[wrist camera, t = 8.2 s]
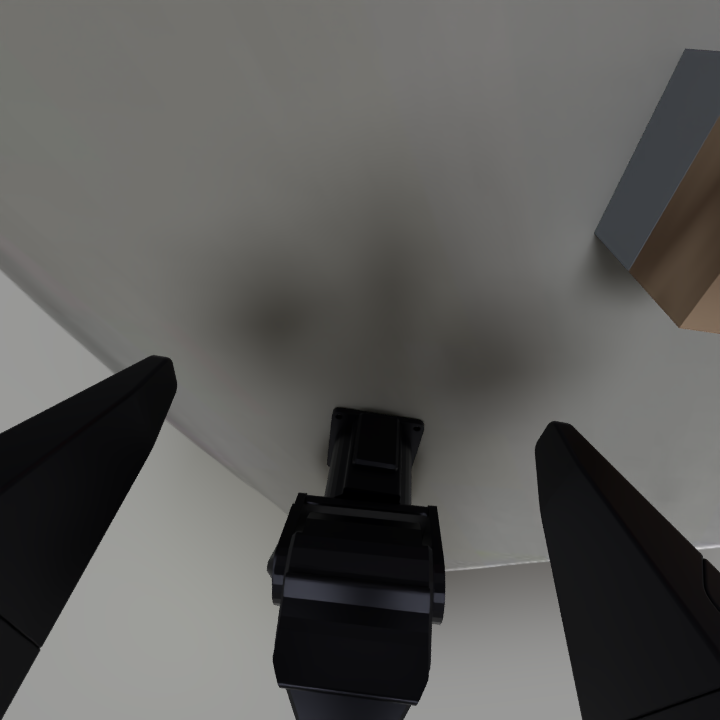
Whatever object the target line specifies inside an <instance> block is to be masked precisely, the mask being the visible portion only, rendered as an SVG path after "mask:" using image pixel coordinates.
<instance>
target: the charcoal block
mask: <svg viewBox="0 0 720 720" xmlns="http://www.w3.org/2000/svg"><path fill="white" fill-rule="evenodd" d="M719 116H720V51H709V50H695V49H685V50H684V52H683V54H682V56H681V58H680V61H679V63H678V65H677V67H676V69H675V71H674V73H673V75H672V77H671V79H670V81H669V83H668V85H667V87H666V89H665V91H664V93H663V95H662V97H661V99H660V101H659V103H658V105H657V107H656V109H655V111H654V113H653V115H652V117H651V119H650V121H649V123H648V125H647V127H646V129H645V131H644V133H643V135H642V137H641V139H640V141H639V143H638V145H637V147H636V150H635V152H634V154H633V156H632V158H631V160H630V162H629V164H628V166H627V168H626V170H625V172H624V174H623V176H622V178H621V180H620V182H619V184H618V186H617V188H616V190H615V192H614V194H613V196H612V198H611V200H610V202H609V204H608V206H607V208H606V210H605V212H604V214H603V216H602V218H601V220H600V222H599V224H598V226H597V228H596V230H595V232H594V233H595V234H596V235H597V237H598V238H599V239H600V240H601V241H602V242H603V243H604V244H605V246H606V247H607V248H608V249H609V250H610V251H611V252H612V253H613V254H614V256H615V257H616V258H617V259H618V260H619V261H620V262H621V263H622V265H623V266H624V267H625V268H626V269H627V270H628V271H629V270H630V268H631V266H632V265H633V263H634V261H635V259H636V258H637V256H638V254H639V253H640V251H641V249H642V248H643V246H644V244H645V242H646V241H647V239H648V237H649V236H650V234H651V232H652V230H653V229H654V227H655V225H656V224H657V222H658V220H659V218H660V217H661V215H662V213H663V212H664V210H665V208H666V206H667V205H668V203H669V201H670V200H671V198H672V196H673V194H674V193H675V191H676V189H677V188H678V186H679V184H680V182H681V181H682V179H683V177H684V176H685V174H686V172H687V171H688V169H689V167H690V165H691V164H692V162H693V160H694V159H695V157H696V155H697V153H698V152H699V150H700V148H701V147H702V145H703V143H704V141H705V140H706V138H707V136H708V135H709V133H710V131H711V129H712V128H713V126H714V124H715V123H716V121H717V119H718V117H719Z"/></svg>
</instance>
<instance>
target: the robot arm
mask: <svg viewBox="0 0 720 720" xmlns="http://www.w3.org/2000/svg"><path fill="white" fill-rule="evenodd" d="M176 390H177V380H176V376H175V371H174V367H173V362H172V360H171V359H170V358H168V357H163V356H156V355H152V356H149V357H147V358H145V359H143V360H141V361H139V362H138V363H136V364H134V365H132V366H130V367H128V368H126V369H124V370H122V371H120V372H118V373H116V374H114V375H112V376H110V377H109V378H107V379H105V380H103V381H101V382H99V383H97V384H95V385H93V386H91V387H89V388H87V389H85V390H84V391H82V392H80V393H78V394H76V395H74V396H72V397H70V398H68V399H66V400H65V401H62V402H60V403H58V404H56V405H55V406H53V407H51V408H49V409H47V410H45V411H43V412H41V413H39V414H37V415H35V416H34V417H31V418H29V419H27V420H26V421H24V422H22V423H20V424H18V425H16V426H14V427H12V428H10V429H8V430H6V431H4V432H2V433H0V720H2V718H3V716H4V714H5V712H6V711H7V709H8V707H9V705H10V704H11V702H12V700H13V698H14V696H15V694H16V693H17V691H18V689H19V687H20V686H21V684H22V682H23V680H24V678H25V677H26V675H27V673H28V671H29V670H30V668H31V666H32V664H33V662H34V661H35V659H36V657H37V655H38V653H39V652H40V648H41V647H42V646H43V644H44V642H45V640H46V638H47V637H48V635H49V633H50V631H51V630H52V628H53V626H54V624H55V622H56V621H57V619H58V617H59V615H60V614H61V612H62V610H63V608H64V606H65V605H66V603H67V601H68V599H69V597H70V595H71V594H72V592H73V590H74V588H75V587H76V585H77V583H78V581H79V579H80V578H81V576H82V574H83V572H84V571H85V569H86V567H87V565H88V563H89V561H90V559H91V558H92V556H93V554H94V553H95V551H96V549H97V547H98V545H99V544H100V542H101V540H102V538H103V536H104V535H105V533H106V531H107V529H108V527H109V525H110V524H111V522H112V520H113V519H114V517H115V515H116V513H117V511H118V510H119V508H120V506H121V504H122V502H123V501H124V499H125V497H126V495H127V493H128V492H129V490H130V488H131V486H132V484H133V483H134V481H135V479H136V477H137V476H138V474H139V472H140V470H141V469H142V467H143V465H144V463H145V461H146V459H147V458H148V456H149V454H150V452H151V450H152V448H153V446H154V444H155V442H156V439H157V437H158V434H159V432H160V430H161V427H162V425H163V422H164V420H165V418H166V415H167V413H168V410H169V408H170V406H171V403H172V401H173V398H174V396H175V394H176ZM338 414H340V415H338ZM417 426H418V427H417ZM423 432H424V423H423V422H422V421H420V420H416V419H409V418H403V417H396V416H390V415H383V414H377V413H370V412H364V411H357V410H351V409H344V408H336V409H334V410H333V413H332V421H331V430H330V440H329V449H328V459H327V465H328V466H329V467H330V469H329V475H328V480H327V485H326V491H325V496H324V497H323V496H313V495H307V493H298V496H297V498H296V501H295V504H294V503H293V504H292V507H291V509H290V512H289V515H288V518H287V521H286V523H285V526H284V529H283V532H282V534H281V537H280V539H279V542H278V544H277V546H276V548H275V550H274V552H273V554H272V555H271V557H270V559H269V561H268V565H267V571H268V573H269V575H270V577H271V578H272V600H273V604H274V605H278V606H280V610H279V617H278V624H277V631H276V639H275V648H274V653H273V665H274V670H275V674H276V679H277V683H278V686H279V687H280V688H285V689H286V690H287V693H288V696H289V700H290V703H291V706H292V709H293V712H294V715H295V718H296V720H403V719H404V718H405V716H406V714H407V712H408V710H409V708H410V707H411V705H415V706H416V705H417V704H418V702H419V700H420V698H421V696H422V693H423V691H424V689H425V687H426V684H427V682H428V677H429V670H430V664H431V635H432V624H439V625H440V624H441V623H442V620H443V614H444V605H445V565H444V556H443V549H442V541H441V534H440V527H439V519H438V512H437V506H429V505H428V507H424V506H414V505H411V468H412V465H413V462H414V459H415V456H416V453H417V450H418V447H419V444H420V441H421V438H422V435H423ZM535 459H536V471H537V483H538V494H539V505H540V513H541V518H542V524H543V528H544V533H545V538H546V543H547V548H548V553H549V558H550V563H551V568H552V572H553V578H554V583H555V587H556V592H557V597H558V602H559V607H560V612H561V617H562V622H563V627H564V632H565V637H566V642H567V646H568V651H569V656H570V661H571V666H572V671H573V676H574V681H575V686H576V691H577V696H578V701H579V706H580V711H581V716H582V720H720V572H719V571H718V570H717V569H716V568H715V567H714V566H713V565H712V564H711V563H710V562H709V561H708V560H707V559H703V556H702V554H701V553H700V552H699V551H698V550H697V549H696V548H695V547H694V546H693V545H692V544H691V543H690V542H689V541H688V540H687V539H686V538H685V537H684V536H683V535H682V534H681V533H680V532H679V531H678V530H677V529H676V528H675V527H674V526H673V525H672V524H671V523H670V522H669V521H668V520H667V519H666V518H665V517H664V516H663V515H662V514H661V513H659V512H658V511H657V510H656V509H655V508H654V507H653V506H652V505H651V504H650V503H649V502H648V501H647V500H646V499H645V498H644V497H643V496H642V495H641V494H640V493H639V492H638V491H637V490H636V489H635V488H634V487H633V486H632V485H631V484H630V483H629V482H628V481H627V480H626V479H625V478H624V477H623V476H622V475H621V474H620V473H619V472H618V471H617V470H616V469H615V468H614V467H613V466H612V465H611V464H610V463H609V462H608V461H607V460H606V459H605V458H604V457H603V456H602V455H601V454H600V453H599V452H598V451H597V450H596V449H595V448H594V447H593V446H592V445H591V444H590V443H589V442H588V441H587V440H586V439H585V438H584V437H583V436H582V435H581V434H580V433H579V432H578V431H577V430H576V429H575V428H574V427H573V426H572V425H571V424H568V423H564V422H558V421H552V422H550V423H549V424H548V425H547V427H546V429H545V430H544V432H543V433H542V435H541V436H540V438H539V439H538V441H537V443H536V446H535Z"/></svg>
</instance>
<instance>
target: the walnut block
mask: <svg viewBox="0 0 720 720" xmlns="http://www.w3.org/2000/svg"><path fill="white" fill-rule="evenodd" d="M629 272H630V274H631V275H632V276H633V277H634V278H635V279H636V280H637V281H638V283H639V284H640V285H641V286H642V287H643V288H644V289H645V290H646V291H647V293H648V294H649V295H650V296H651V297H652V298H653V299H654V300H655V302H656V303H657V304H658V305H659V306H660V307H661V308H662V309H663V310H664V312H665V313H666V314H667V315H668V316H669V317H670V318H671V319H672V321H673V322H674V323H675V324H676V325H677V326H678V327H679V328H683V329H690V330H697V331H704V332H710V333H717V334H720V116H719V117H718V119H717V121H716V123H715V124H714V126H713V128H712V129H711V131H710V133H709V135H708V136H707V138H706V140H705V141H704V143H703V145H702V147H701V148H700V150H699V152H698V153H697V155H696V157H695V159H694V160H693V162H692V164H691V165H690V167H689V169H688V171H687V172H686V174H685V176H684V177H683V179H682V181H681V182H680V184H679V186H678V188H677V189H676V191H675V193H674V194H673V196H672V198H671V200H670V201H669V203H668V205H667V206H666V208H665V210H664V212H663V213H662V215H661V217H660V218H659V220H658V222H657V224H656V225H655V227H654V229H653V230H652V232H651V234H650V236H649V237H648V239H647V241H646V242H645V244H644V246H643V248H642V249H641V251H640V253H639V254H638V256H637V258H636V259H635V261H634V263H633V265H632V266H631V268H630V270H629Z"/></svg>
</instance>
